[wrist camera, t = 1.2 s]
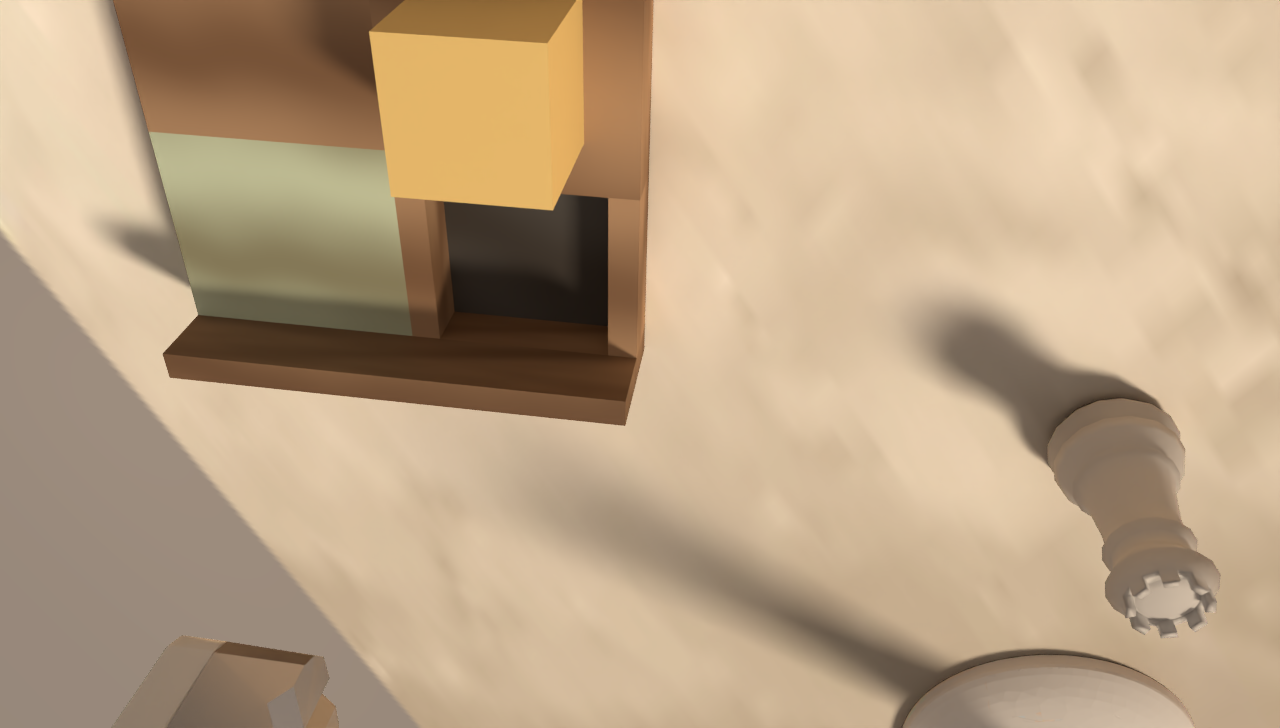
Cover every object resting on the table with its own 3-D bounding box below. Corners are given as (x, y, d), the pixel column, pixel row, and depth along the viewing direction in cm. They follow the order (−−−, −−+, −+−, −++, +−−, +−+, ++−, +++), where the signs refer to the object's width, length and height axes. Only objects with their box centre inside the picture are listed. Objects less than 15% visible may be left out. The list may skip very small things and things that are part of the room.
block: (425, -19, 29) (368, 31, 25) (582, -9, 29) (547, 43, 25) (440, 132, 32) (390, 197, 28) (584, 143, 31) (553, 210, 28)
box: (50, -410, 27) (-71, -417, 23) (663, -397, 25) (637, -402, 21) (229, 309, 39) (170, 377, 36) (643, 349, 38) (625, 425, 34)
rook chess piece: (1018, 436, 38) (1059, 602, 31) (1128, 368, 35) (1196, 533, 29) (1093, 505, 39) (1147, 678, 33) (1203, 444, 37) (1285, 616, 30)
